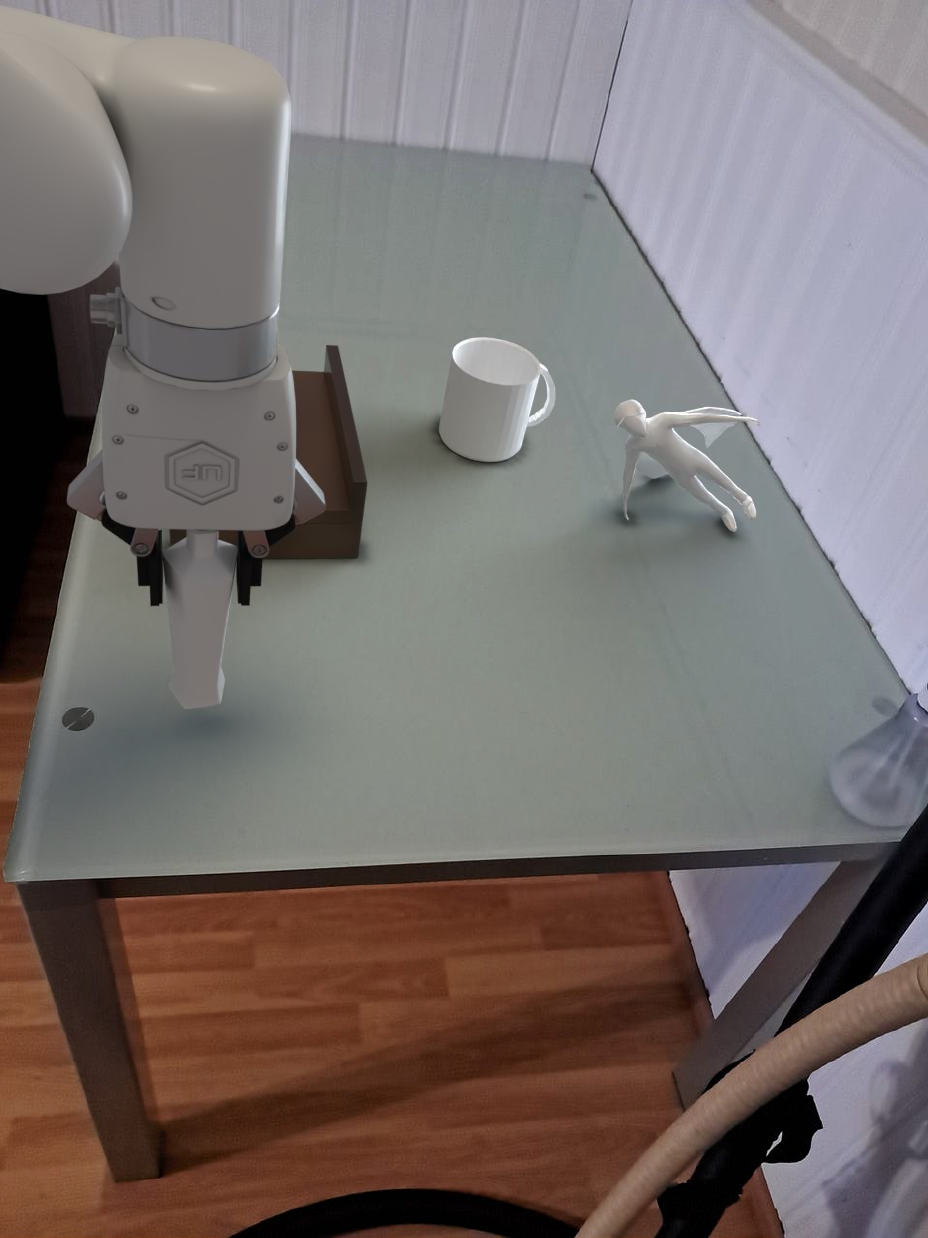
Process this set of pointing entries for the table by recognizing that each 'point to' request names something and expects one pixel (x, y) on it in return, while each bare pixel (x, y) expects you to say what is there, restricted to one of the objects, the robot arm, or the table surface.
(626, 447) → the figurine
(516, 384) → the mug
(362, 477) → the wooden display stand
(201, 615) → the perfume bottle
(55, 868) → the table surface
